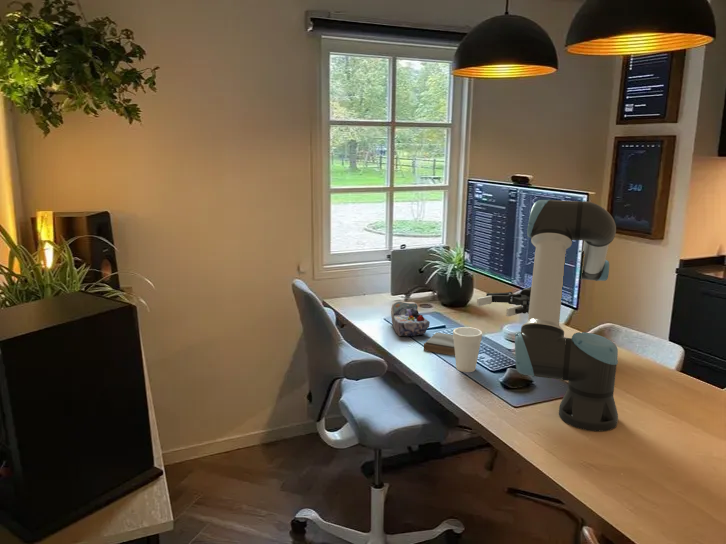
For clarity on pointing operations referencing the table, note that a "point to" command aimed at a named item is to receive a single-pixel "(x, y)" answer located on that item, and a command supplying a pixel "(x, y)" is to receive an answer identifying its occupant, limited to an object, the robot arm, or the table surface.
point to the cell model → (408, 319)
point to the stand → (440, 344)
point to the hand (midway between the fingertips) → (491, 307)
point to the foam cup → (466, 347)
